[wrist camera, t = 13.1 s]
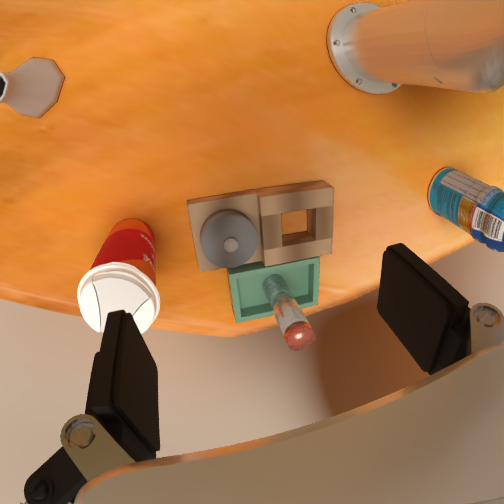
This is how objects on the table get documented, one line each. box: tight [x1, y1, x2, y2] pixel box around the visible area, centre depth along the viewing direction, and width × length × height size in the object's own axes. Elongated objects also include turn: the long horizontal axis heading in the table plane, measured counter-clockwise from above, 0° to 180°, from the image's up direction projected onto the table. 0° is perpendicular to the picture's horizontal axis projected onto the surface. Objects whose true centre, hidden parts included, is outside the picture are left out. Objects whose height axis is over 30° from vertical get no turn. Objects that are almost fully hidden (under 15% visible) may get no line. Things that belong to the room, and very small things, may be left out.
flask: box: [0, 57, 65, 118], centre depth 21 cm, size 7×7×10 cm
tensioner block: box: [187, 181, 334, 272], centre depth 38 cm, size 17×9×4 cm, turn 95°
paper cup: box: [77, 219, 160, 334], centre depth 31 cm, size 8×8×14 cm
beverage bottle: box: [428, 168, 504, 252], centre depth 36 cm, size 8×8×20 cm
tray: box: [227, 256, 320, 323], centre depth 43 cm, size 12×8×2 cm, turn 95°
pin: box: [262, 274, 315, 351], centre depth 39 cm, size 3×3×12 cm
